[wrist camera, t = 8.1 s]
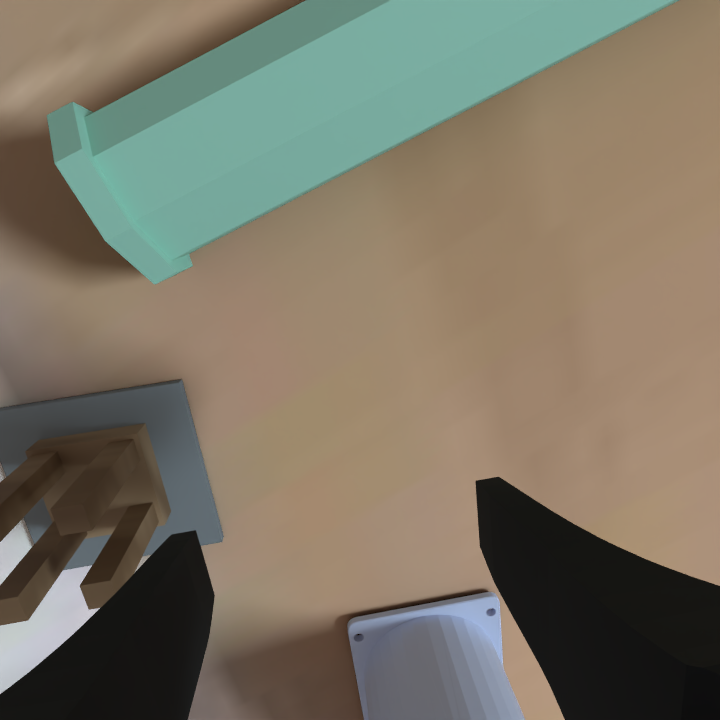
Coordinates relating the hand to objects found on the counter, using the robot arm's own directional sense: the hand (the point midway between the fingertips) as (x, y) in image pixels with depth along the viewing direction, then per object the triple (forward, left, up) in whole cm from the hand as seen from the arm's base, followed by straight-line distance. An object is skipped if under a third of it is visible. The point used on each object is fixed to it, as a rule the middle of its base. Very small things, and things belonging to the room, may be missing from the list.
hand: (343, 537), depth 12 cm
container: (+13, -6, -10) cm, 17 cm away
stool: (-2, +10, -9) cm, 14 cm away
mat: (-2, +10, -9) cm, 14 cm away
